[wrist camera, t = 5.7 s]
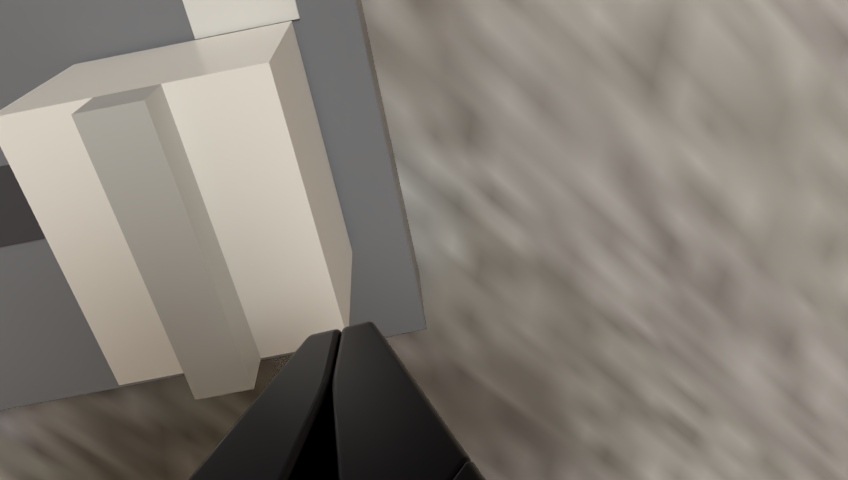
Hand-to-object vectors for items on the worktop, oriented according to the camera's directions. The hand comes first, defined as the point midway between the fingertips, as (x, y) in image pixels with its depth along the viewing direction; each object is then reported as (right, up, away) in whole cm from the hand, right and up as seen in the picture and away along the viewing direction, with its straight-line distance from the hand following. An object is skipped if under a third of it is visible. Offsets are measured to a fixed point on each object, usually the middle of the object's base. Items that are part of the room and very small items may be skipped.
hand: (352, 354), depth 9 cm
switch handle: (-4, +3, +8) cm, 9 cm away
